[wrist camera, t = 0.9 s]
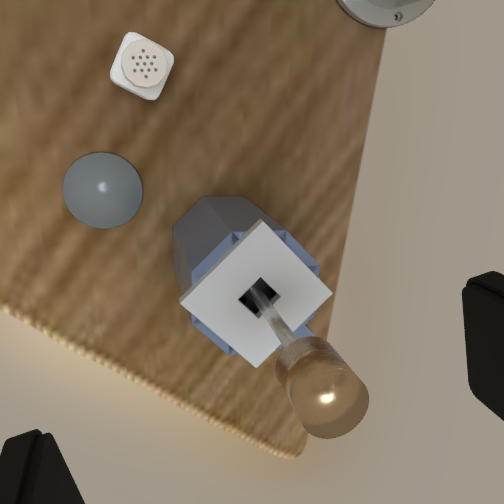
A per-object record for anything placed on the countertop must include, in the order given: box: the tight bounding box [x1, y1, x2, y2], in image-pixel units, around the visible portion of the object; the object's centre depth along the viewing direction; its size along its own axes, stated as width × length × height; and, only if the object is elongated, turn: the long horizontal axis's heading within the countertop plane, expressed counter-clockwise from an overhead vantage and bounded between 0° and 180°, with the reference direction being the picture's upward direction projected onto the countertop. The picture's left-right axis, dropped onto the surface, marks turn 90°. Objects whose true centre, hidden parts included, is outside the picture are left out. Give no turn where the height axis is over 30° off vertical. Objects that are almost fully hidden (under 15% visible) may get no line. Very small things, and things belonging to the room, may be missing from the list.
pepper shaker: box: [110, 32, 174, 100], centre depth 38 cm, size 4×4×10 cm
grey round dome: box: [63, 152, 143, 229], centre depth 44 cm, size 7×7×1 cm
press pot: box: [173, 196, 333, 368], centre depth 43 cm, size 10×13×14 cm
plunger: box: [239, 277, 369, 439], centre depth 32 cm, size 7×7×18 cm
